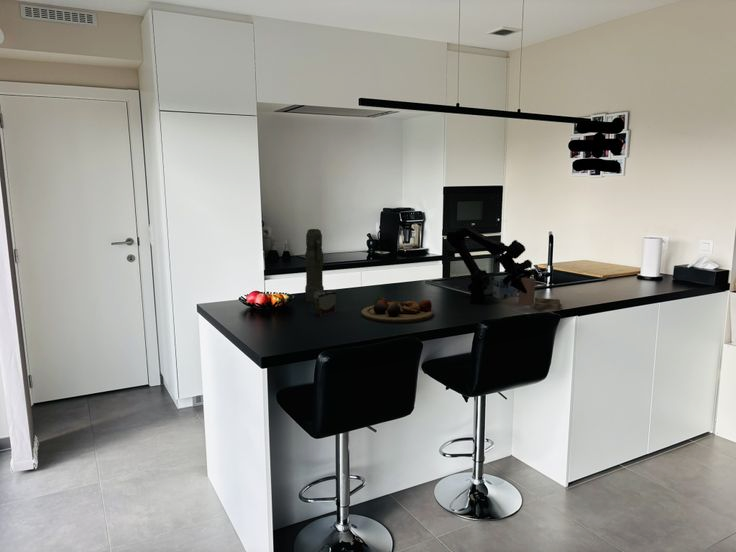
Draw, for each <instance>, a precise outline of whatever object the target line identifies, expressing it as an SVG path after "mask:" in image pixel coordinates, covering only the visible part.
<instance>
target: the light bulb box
mask: <svg viewBox="0 0 736 552" xmlns="http://www.w3.org/2000/svg"><path fill="white" fill-rule="evenodd" d="M506 276H507V275H494V276H493V277H494V278H493V290H492V291H493V295H492V296H493V298H496V299H498V300H505V299H507V298H518V294H519V290H518V289H516V288H514V287H512V286H510V284H511V281H510V282H509V285H506V286H505V285H504V284H503V279H504V278H505V277H506Z"/></svg>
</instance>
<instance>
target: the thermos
mask: <svg viewBox="0 0 736 552" xmlns="http://www.w3.org/2000/svg"><path fill="white" fill-rule="evenodd" d="M305 243H306V244H305V246H306V248H305V249H306V250H305V254H304V266H305V275H306V277H305V278H306V280H305V281H306V282H305V284H306V285H305V287H304V289H305V290H304V293H305V294H304V295H305V302H306V303H311V304H312V303H313V304H316V301H315V298H314V293H315V292H316V291H319V290H325V289H324V288H325V287H324V285H323V266H324V253H323V248H322V247H323V235H322V232H321V230H320V229H319V228H309V229H307V231H306V235H305Z"/></svg>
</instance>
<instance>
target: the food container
mask: <svg viewBox="0 0 736 552" xmlns="http://www.w3.org/2000/svg"><path fill="white" fill-rule="evenodd" d="M337 296H338V291H337V289H324V290H319V291H316V292H315V293H314V298H315V301H316V303H315V309H316V310H315V311H316V316H318V317H323V316H327V315H330V314H334V313H336V305H337Z"/></svg>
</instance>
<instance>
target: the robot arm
mask: <svg viewBox="0 0 736 552" xmlns="http://www.w3.org/2000/svg"><path fill="white" fill-rule="evenodd" d="M467 238H469V239H471V240H473V241H474V242H476V243H478V244H479V245H481V246H482V247H484V248H485V250H486V251H487V252H488V253H489V254H490V255H491V256H497V257H495V260H494V264H498V263H499V264H500V265H501V266H502V268H503V269H504V270H503V272H504V273H505V274H506V273H507V275H505V276H506V277H505V278H504V279H503V284H504V285H505V286H506V285H509V282H510V281H511V284H510V286H512V287H514V288H516V289H518V291H519V290H520V291H522V292H523V293H525V294H526V293H527V290H526V289H525V287H524V285H523V284H522V282H521V278H524V277H528V278H532V277H533V275H534V274H535V272H534V271H533V269H532V268H533V267H532V265H533V262H532V261H531V260H530V259H526V260H524V261H522V262H521V263H519V262H516V261H515V259H518V258H520V256H521V255H522V254H523V253H524V252H526V247H525V245H524V244H522V243H521V242H519V241H518V240H517V239H514V240H512V242H511V243H510V244H509V245H506V244H505V243H504V242H502V241H499V240H495V239H492V238H489V237H487V236H486V235H485V234H483V233H481V232H479V231H477V230H475V229H474V228H472V227H469V226H468V227H463V228H462V229H458V230H455V231H450V232H448V233H447V235H446V239H445V240H446V241H447V243H448V244H449V245H450V246H451V247H452V248H454V249H455V250H456V251H457V253H458V254H459V257H460V258H461V260H462V261H463V263H464V265H465V267H466V268H467V270H468V272H469V273H470V281H471V282H470V284H469V285H468V286H467V290H468V291H470V299H469V300H470V301H469V304H480V305H481V304H482V305H484V304H485V303H486V293H485V290H487V289H488V287H489V285H490V282H491V279H490V275H489V274H488V272H487V270H486V269H483V270H482V269H480V267H479V265H478V264H477V262H476V260H475V259H474V257H473V256H472V253H471V252H470V250H469V248H467V246H466V239H467Z"/></svg>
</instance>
